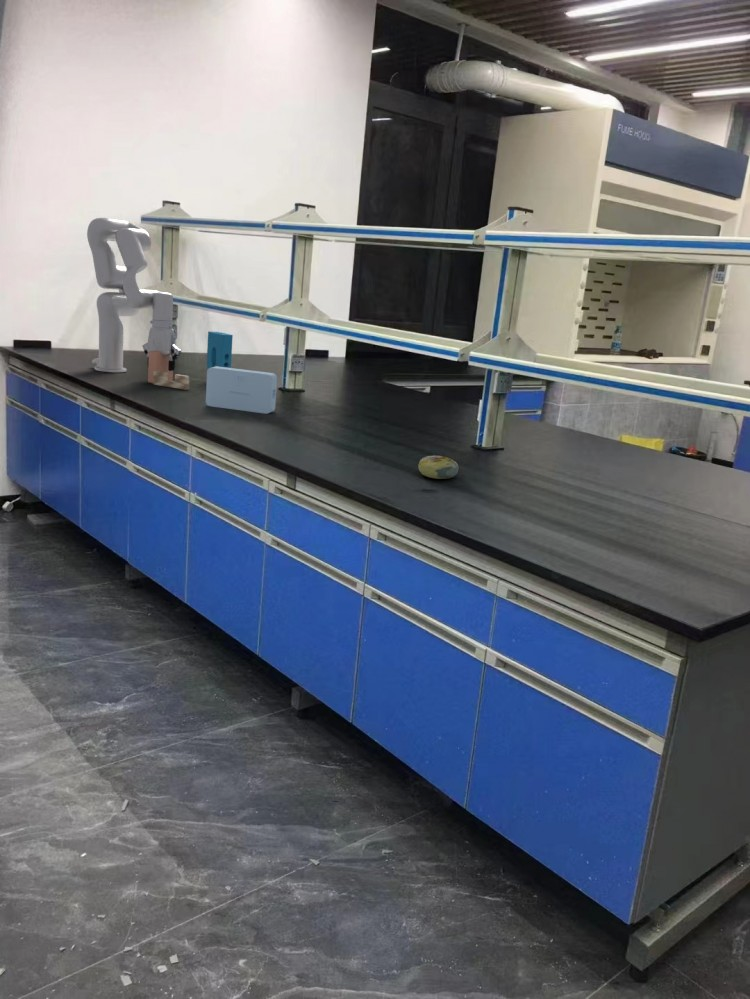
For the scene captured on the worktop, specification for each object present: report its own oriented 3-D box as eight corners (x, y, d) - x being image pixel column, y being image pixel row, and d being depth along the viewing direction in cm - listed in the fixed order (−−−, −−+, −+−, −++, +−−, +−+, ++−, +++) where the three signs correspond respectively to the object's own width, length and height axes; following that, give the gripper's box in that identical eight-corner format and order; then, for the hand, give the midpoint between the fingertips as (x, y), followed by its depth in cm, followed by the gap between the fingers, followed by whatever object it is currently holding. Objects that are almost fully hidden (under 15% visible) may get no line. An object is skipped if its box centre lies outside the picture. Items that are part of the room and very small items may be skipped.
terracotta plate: (148, 382, 331) (148, 351, 328) (166, 379, 342) (167, 349, 339) (154, 383, 330) (155, 352, 327) (172, 380, 341) (173, 350, 338)
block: (230, 385, 344) (233, 335, 339) (220, 385, 341) (222, 334, 336) (215, 380, 353) (218, 331, 348) (205, 380, 350) (207, 331, 344)
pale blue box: (204, 406, 291) (206, 367, 288) (211, 404, 297) (212, 365, 293) (269, 414, 287) (272, 375, 284) (274, 412, 293) (277, 373, 289)
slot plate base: (153, 384, 327) (153, 371, 325) (155, 383, 328) (156, 370, 327) (186, 389, 322) (186, 376, 320) (188, 389, 323) (189, 376, 322)
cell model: (414, 471, 215) (418, 441, 227) (418, 495, 219) (422, 464, 231) (455, 468, 213) (457, 437, 224) (458, 492, 217) (461, 461, 229)
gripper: (137, 322, 330) (136, 366, 334) (175, 327, 324) (173, 372, 328) (149, 322, 336) (148, 365, 341) (186, 327, 331) (185, 371, 335)
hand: (161, 369), depth 335 cm, fingers open, 9 cm apart
